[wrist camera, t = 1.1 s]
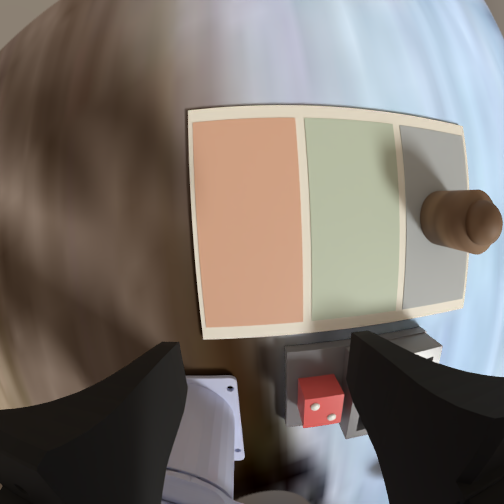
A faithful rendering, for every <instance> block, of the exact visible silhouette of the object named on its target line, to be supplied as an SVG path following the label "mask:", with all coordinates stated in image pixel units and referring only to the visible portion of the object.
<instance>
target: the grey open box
mask: <svg viewBox="0 0 504 504" xmlns="http://www.w3.org/2000/svg"><path fill="white" fill-rule="evenodd" d="M378 335H379V336H381V337H383V338H385V339H387V340H389V341H390V342H392V343H394V344H396V345H398V346H400V347H402V348H404V349H406V350H408V351H410V352H413V353H415V354H417V355H419V356H421V357H424V358H426V359H429V360H431V361H433V362H436V363H439V360H440V356H441V352H442V347H443V346H442V345H441V344H440V343H438V342H437V341H436V340H434V339H433V338H432V337H430V336H429V335H428V334H426V331H425V330H424V329H422V328H421V327H416V328H411V329H406V330H401V331H395V332H390V333H384V334H378ZM350 342H351V339H345V340H337V341H329V342H321V343H312V344H302V345H292V346H285V423H286V427H293V426H301V425H303V428H308V427H315V426H322V425H328V424H334V423H339V424H340V427H341V429H342V431H343V434H344V436H345V439H349V438H354V437H358V436H363V435H367V434H368V433H367V431H366V429H365V427H364V425H363V423H362V421H361V418H360V416H359V414H358V412H357V410H356V408H355V406H354V403H353V401H352V398H351V395H350V392H349V388H348V384H347V381H346V375H347V368H348V360H349V351H350Z"/></svg>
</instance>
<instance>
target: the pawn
mask: <svg viewBox="0 0 504 504" xmlns="http://www.w3.org/2000/svg"><path fill="white" fill-rule="evenodd" d="M420 224H421V229H422V231H423V234H424V235H425V237H426V238H427V239H428V240H429V241H430V242H431V243H433V244H436V245H440V246H444V247H448V248H452V249H456V250H460V251H464V252H468V253H472V254H481V253H483V252H485V251H486V250H487V249H488V248H489V246H490V245H491V244H492V243H494V242H495V241H496V240H497V239H498V238H499V236H500V234H501V231H502V225H503V222H502V216H501V213H500V211H499V210H498V208H497V207H496V206H495V205H494V204H493V202H492V200H491V199H490V197H489V196H488V195H487V194H486V193H485V192H483V191H481V190H450V191H435V192H432V193H431V194H429V195H428V196H427V197H426V199H425V200H424V202H423V204H422V207H421V211H420Z"/></svg>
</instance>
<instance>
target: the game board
mask: <svg viewBox="0 0 504 504" xmlns="http://www.w3.org/2000/svg"><path fill="white" fill-rule="evenodd" d="M188 138H189V170H190V192H191V210H192V226H193V240H194V253H195V265H196V276H197V287H198V297H199V306H200V315H201V324H202V332H203V339H231V338H251V337H267V336H280V335H292V334H303V333H313V332H323V331H332V330H340V329H348V328H355V327H363V326H370V325H376V324H383V323H389V322H395V321H401V320H407V319H412V318H418V317H423V316H428V315H433V314H438V313H443V312H447V311H452V310H456V309H461V308H463V304H464V297H465V289H466V281H467V270H468V258H469V253H468V252H464V251H460V250H456V249H452V248H448V247H444V246H440V245H436V244H433V243H431V242H430V241H429V240H428V239H427V238H426V237H425V235H424V234H423V231H422V229H421V224H420V211H421V207H422V204H423V202H424V200H425V199H426V197H427V196H428V195H429V194H431V193H432V192H435V191H450V190H469V178H468V165H467V155H466V147H465V139H464V132H463V126H459V125H455V124H451V123H446V122H442V121H437V120H432V119H427V118H422V117H416V116H410V115H404V114H397V113H390V112H383V111H375V110H366V109H356V108H344V107H329V106H305V105H259V106H235V107H220V108H208V109H198V110H188Z"/></svg>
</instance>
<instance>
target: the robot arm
mask: <svg viewBox="0 0 504 504" xmlns="http://www.w3.org/2000/svg"><path fill="white" fill-rule="evenodd" d="M346 381H347V384H348V388H349V392H350V395H351V398H352V401H353V403H354V406H355V408H356V410H357V412H358V414H359V416H360V418H361V421H362V423H363V425H364V427H365V429H366V431H367V433H368V435H369V438H370V440H371V442H372V444H373V446H374V449H375V451H376V454H377V457H378V460H379V464H380V467H381V471H382V474H383V478H384V482H385V486H386V490H387V494H388V499H389V504H504V377H495V376H487V375H481V374H475V373H470V372H466V371H462V370H458V369H455V368H451V367H448V366H445V365H442V364H439V363H436V362H433V361H431V360H429V359H426V358H424V357H421V356H419V355H417V354H415V353H413V352H410V351H408V350H406V349H404V348H402V347H400V346H398V345H396V344H394V343H392V342H390V341H389V340H387V339H385V338H383V337H381V336H379V335H377V334H374V333H372V332H370V331H361V332H353V333H351V342H350V351H349V360H348V368H347V375H346ZM228 386H232V387H233V388H232V389H229V388H228ZM244 457H245V454H244V445H243V436H242V427H241V418H240V408H239V398H238V388H237V380H236V378H235V377H234V376H232V375H219V376H185V371H184V366H183V361H182V355H181V350H180V344H179V342H161V343H160V344H158V345H156V346H155V347H153V348H152V349H150V350H149V351H148V352H146V353H145V354H143V355H142V356H140V357H139V358H137V359H136V360H135V361H133V362H132V363H130V364H129V365H127V366H126V367H124V368H123V369H121V370H119V371H118V372H116V373H114V374H113V375H111V376H109V377H108V378H106V379H104V380H103V381H101V382H99V383H97V384H95V385H93V386H91V387H88V388H86V389H84V390H82V391H80V392H77V393H75V394H72V395H69V396H66V397H63V398H60V399H57V400H54V401H51V402H47V403H43V404H39V405H34V406H29V407H23V408H16V409H5V410H0V483H1V484H2V486H3V487H2V488H1V490H0V504H244V503H241V502H237V501H235V500H233V489H234V460H243V459H244Z"/></svg>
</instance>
